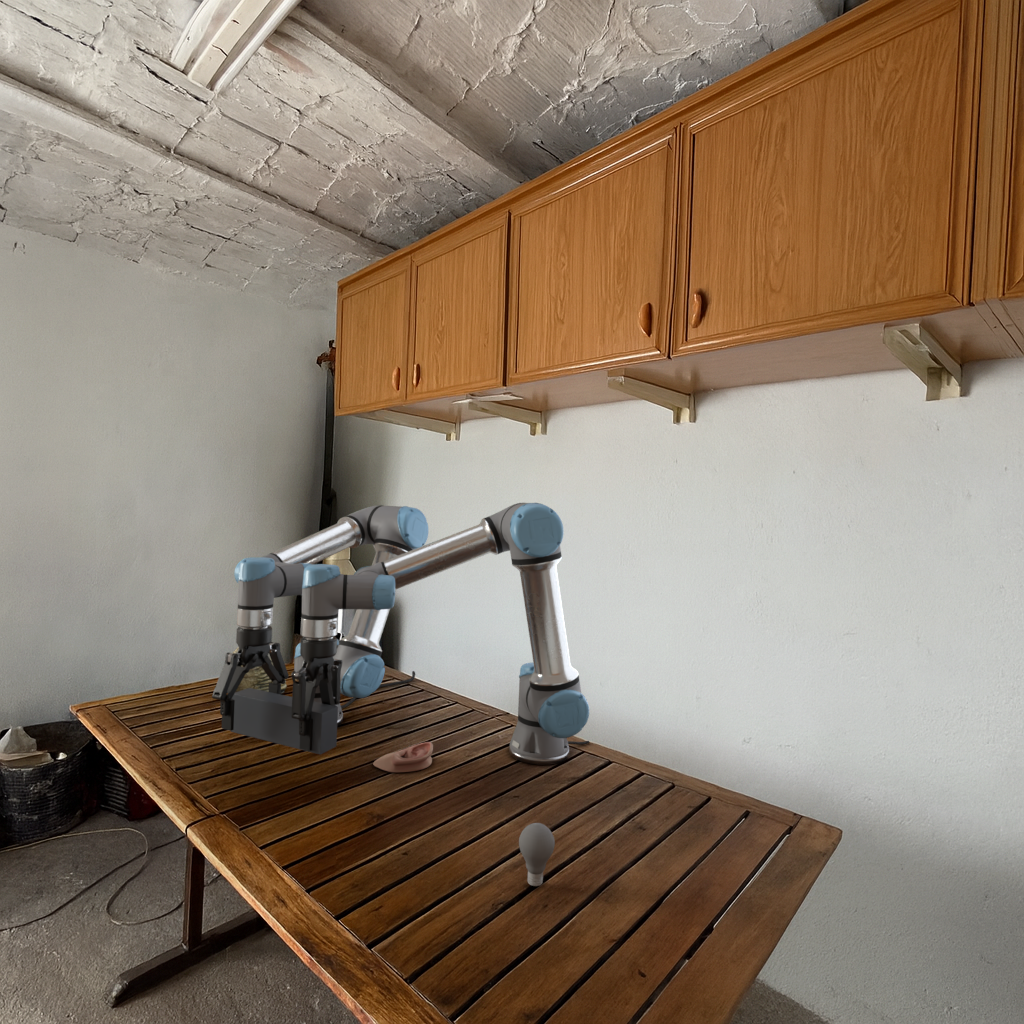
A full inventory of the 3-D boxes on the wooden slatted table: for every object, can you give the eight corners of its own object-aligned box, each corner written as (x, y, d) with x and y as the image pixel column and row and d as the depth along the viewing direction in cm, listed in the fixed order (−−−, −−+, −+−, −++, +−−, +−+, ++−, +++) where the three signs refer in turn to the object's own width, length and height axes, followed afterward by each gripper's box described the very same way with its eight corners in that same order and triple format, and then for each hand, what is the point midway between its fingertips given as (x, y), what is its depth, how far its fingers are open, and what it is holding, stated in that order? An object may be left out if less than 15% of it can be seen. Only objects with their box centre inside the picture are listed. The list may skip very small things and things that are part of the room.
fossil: (218, 695, 195) (220, 647, 195) (278, 685, 208) (279, 640, 207) (228, 703, 189) (230, 653, 188) (289, 692, 201) (290, 645, 201)
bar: (230, 731, 143) (231, 693, 143) (248, 724, 147) (249, 687, 147) (320, 754, 132) (321, 713, 132) (336, 746, 137) (338, 706, 137)
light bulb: (515, 873, 109) (518, 816, 109) (550, 873, 109) (552, 816, 109) (518, 895, 103) (521, 834, 103) (555, 895, 104) (558, 834, 103)
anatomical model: (368, 752, 148) (387, 734, 159) (367, 769, 148) (386, 750, 159) (422, 759, 145) (438, 741, 156) (421, 776, 145) (437, 757, 156)
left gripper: (222, 638, 130) (218, 741, 131) (306, 619, 153) (302, 707, 153) (196, 633, 133) (192, 734, 134) (282, 616, 156) (278, 702, 156)
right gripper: (302, 647, 126) (298, 763, 126) (359, 631, 143) (356, 734, 143) (274, 642, 129) (270, 755, 129) (333, 627, 146) (329, 727, 146)
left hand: (251, 720), depth 144 cm, fingers open, 13 cm apart
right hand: (315, 744), depth 136 cm, fingers closed on bar, 5 cm apart
